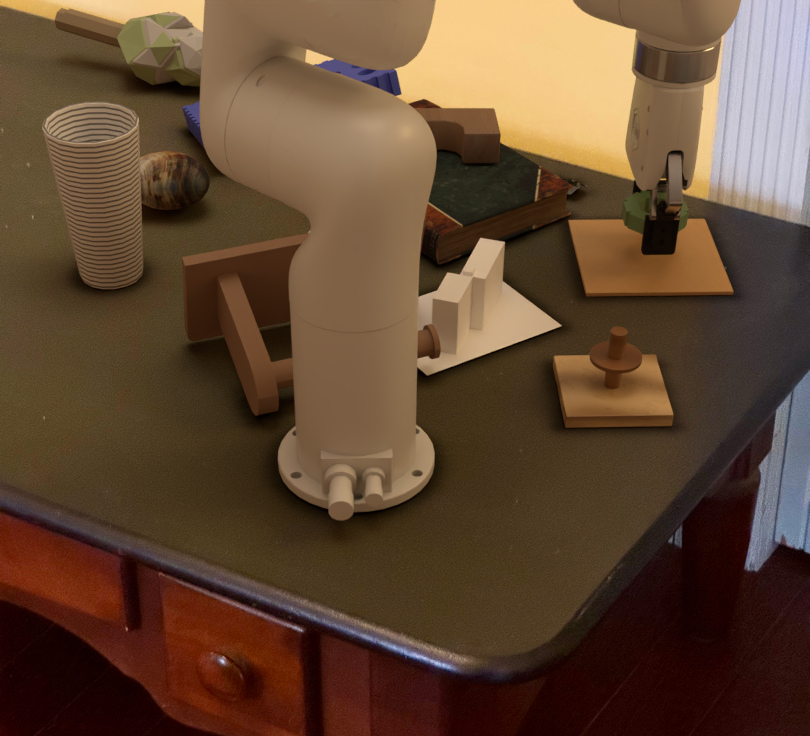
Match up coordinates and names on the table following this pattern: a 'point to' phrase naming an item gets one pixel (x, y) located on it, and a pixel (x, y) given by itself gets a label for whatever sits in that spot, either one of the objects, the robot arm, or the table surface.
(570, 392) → the ring peg
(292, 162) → the robot arm
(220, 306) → the toilet paper hanger
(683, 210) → the ring
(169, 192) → the seashell
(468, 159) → the wooden block
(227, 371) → the table surface
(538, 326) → the napkin holder
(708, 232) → the cork mat
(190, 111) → the blue perforated plate
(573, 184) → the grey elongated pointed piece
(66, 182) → the cup
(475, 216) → the book
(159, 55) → the decorative object
